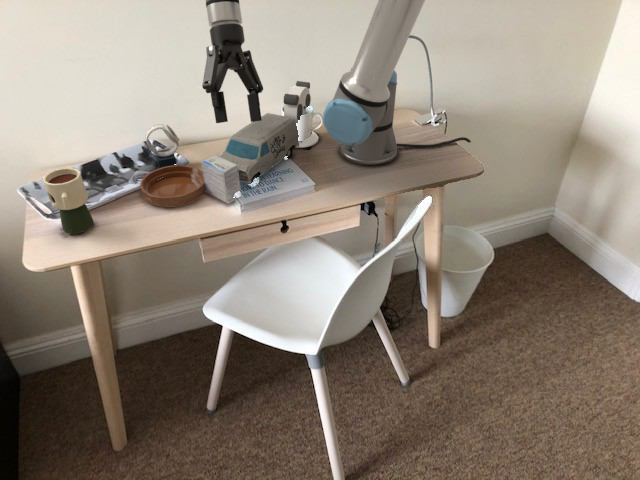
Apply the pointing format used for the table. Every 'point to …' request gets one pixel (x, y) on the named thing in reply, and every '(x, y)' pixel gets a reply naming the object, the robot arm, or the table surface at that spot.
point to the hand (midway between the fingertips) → (239, 122)
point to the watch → (167, 155)
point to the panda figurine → (299, 108)
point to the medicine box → (221, 178)
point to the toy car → (261, 145)
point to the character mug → (69, 199)
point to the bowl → (173, 186)
